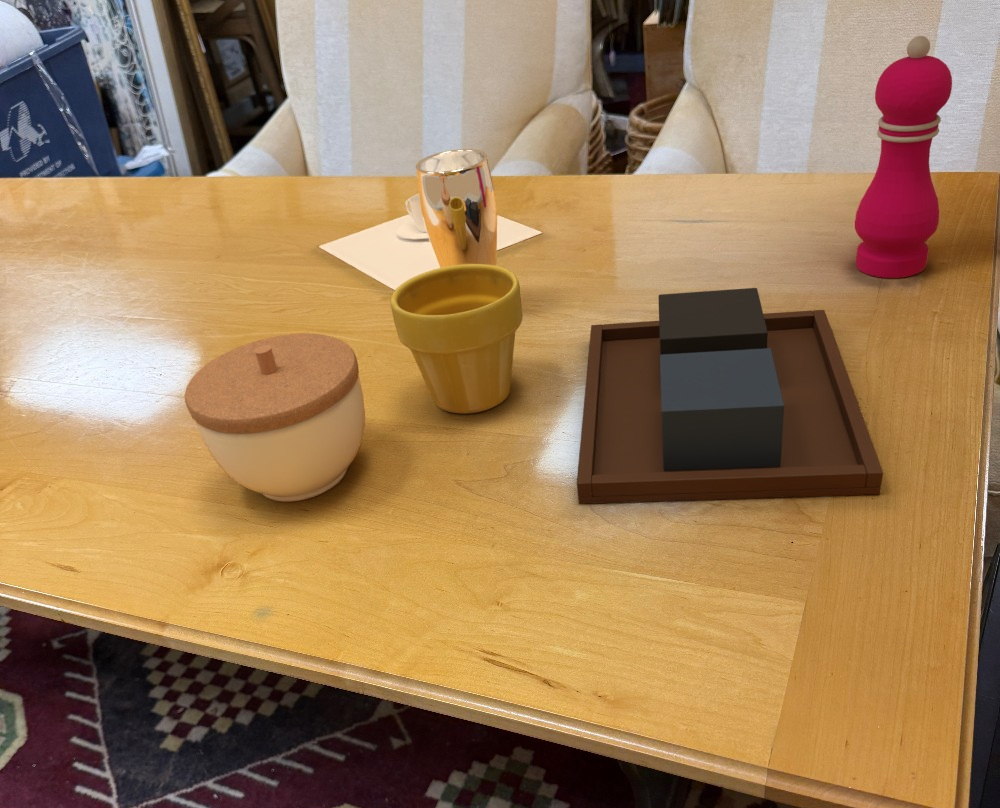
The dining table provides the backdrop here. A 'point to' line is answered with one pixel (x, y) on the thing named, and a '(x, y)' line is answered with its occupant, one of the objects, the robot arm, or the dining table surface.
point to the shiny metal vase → (459, 207)
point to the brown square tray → (803, 472)
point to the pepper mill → (903, 166)
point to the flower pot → (461, 332)
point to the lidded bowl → (281, 413)
